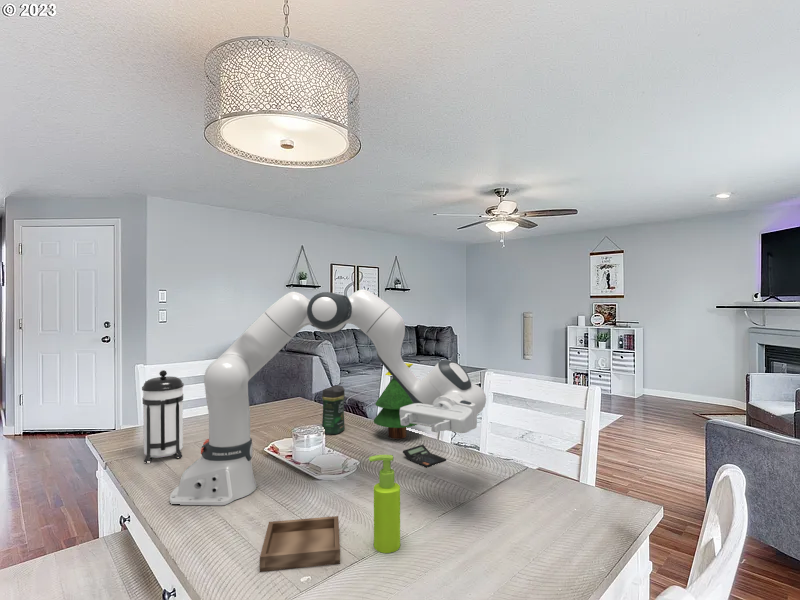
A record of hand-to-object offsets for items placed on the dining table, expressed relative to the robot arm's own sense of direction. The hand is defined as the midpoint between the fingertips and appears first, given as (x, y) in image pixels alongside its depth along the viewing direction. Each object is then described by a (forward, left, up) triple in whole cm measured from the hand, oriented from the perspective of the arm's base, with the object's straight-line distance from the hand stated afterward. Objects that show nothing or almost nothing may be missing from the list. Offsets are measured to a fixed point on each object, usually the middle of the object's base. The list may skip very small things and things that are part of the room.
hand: (417, 425), depth 107 cm
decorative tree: (+6, +66, -24) cm, 71 cm away
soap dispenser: (-9, -9, -24) cm, 27 cm away
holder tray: (-27, -7, -24) cm, 37 cm away
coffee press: (-77, +57, -24) cm, 99 cm away
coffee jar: (-19, +76, -24) cm, 82 cm away
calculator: (+11, +40, -24) cm, 48 cm away
